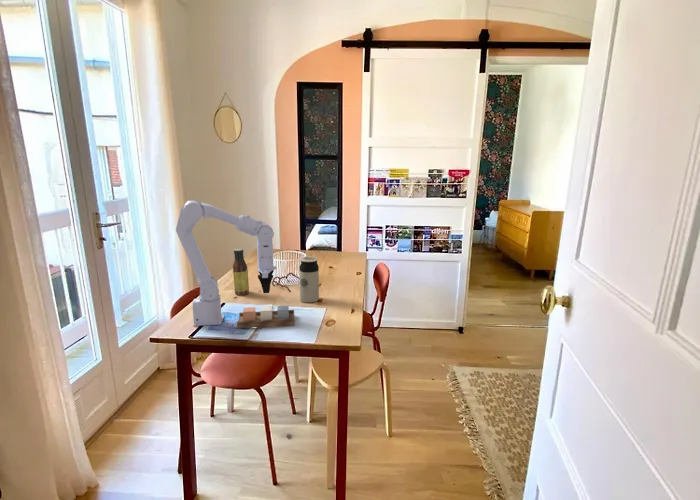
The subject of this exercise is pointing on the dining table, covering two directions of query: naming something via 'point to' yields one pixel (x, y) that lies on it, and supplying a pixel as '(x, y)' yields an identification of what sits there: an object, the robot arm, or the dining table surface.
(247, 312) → the salmon pink cube
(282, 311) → the grey cube
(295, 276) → the glasses
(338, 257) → the dining table surface
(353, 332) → the dining table surface
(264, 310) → the cream cube
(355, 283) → the dining table surface
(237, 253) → the sauce bottle
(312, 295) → the travel mug
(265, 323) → the panel
